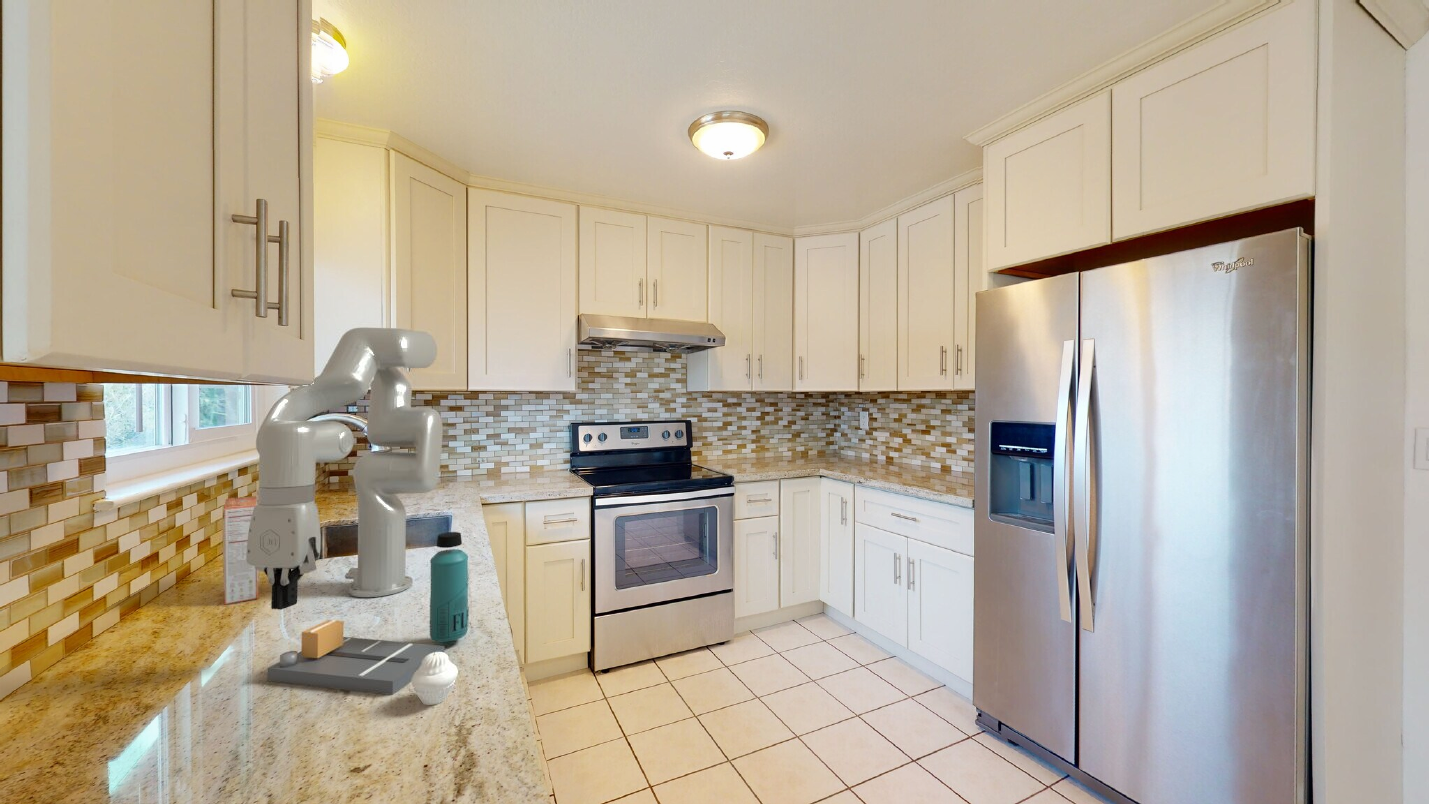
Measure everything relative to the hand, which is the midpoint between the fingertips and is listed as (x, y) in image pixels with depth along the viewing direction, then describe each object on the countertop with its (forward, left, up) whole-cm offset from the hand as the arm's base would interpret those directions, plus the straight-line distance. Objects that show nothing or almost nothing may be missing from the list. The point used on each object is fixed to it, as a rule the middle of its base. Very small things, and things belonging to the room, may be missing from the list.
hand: (284, 606), depth 92 cm
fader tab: (+7, +1, -7) cm, 10 cm away
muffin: (+32, -5, -10) cm, 34 cm away
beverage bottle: (+22, +12, -10) cm, 27 cm away
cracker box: (-39, +26, -10) cm, 48 cm away
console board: (+14, +1, -10) cm, 17 cm away
